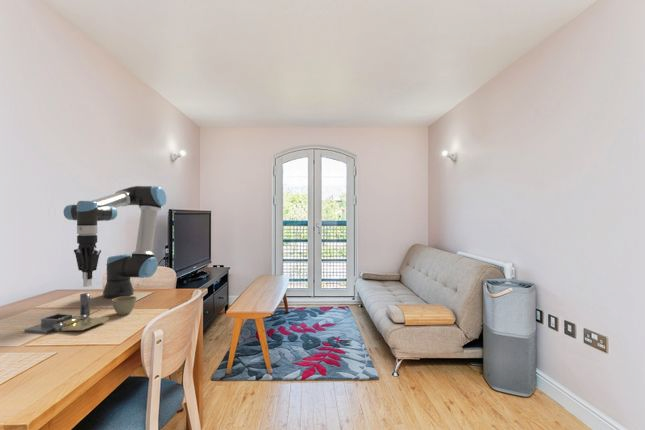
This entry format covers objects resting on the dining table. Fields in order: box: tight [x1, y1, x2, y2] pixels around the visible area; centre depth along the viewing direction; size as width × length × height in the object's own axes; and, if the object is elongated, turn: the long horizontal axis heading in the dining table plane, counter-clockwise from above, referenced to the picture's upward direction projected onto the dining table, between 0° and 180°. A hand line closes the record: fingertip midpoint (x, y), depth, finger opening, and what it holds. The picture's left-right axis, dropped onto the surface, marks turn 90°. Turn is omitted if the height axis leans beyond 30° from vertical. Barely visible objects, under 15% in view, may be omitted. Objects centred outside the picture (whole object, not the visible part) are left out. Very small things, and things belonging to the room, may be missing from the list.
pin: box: [79, 292, 91, 316], centre depth 149 cm, size 4×4×10 cm
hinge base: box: [24, 313, 90, 334], centre depth 136 cm, size 18×13×4 cm
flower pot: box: [111, 295, 137, 316], centre depth 153 cm, size 10×10×7 cm
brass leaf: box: [60, 315, 110, 332], centre depth 135 cm, size 13×13×3 cm
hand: (87, 286), depth 147 cm, fingers closed
